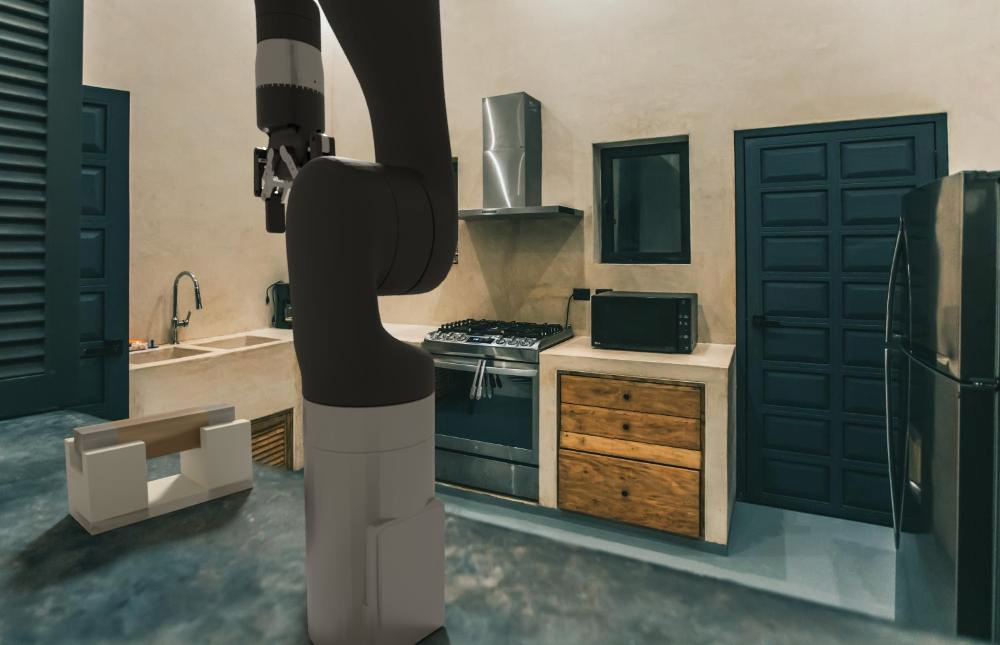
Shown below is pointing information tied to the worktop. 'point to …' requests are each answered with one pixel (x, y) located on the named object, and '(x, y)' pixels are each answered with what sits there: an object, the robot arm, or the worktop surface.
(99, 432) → the rail
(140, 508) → the white notched block
